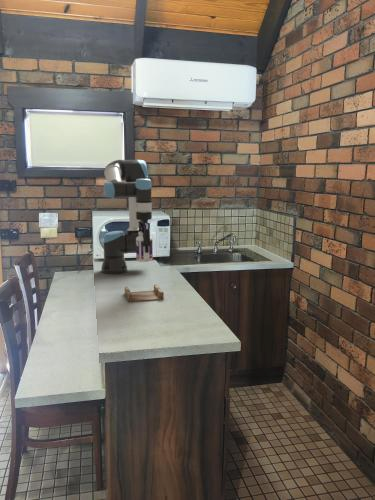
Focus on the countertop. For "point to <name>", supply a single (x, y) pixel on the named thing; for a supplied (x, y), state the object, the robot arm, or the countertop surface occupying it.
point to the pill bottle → (140, 248)
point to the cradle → (144, 295)
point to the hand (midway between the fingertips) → (144, 257)
